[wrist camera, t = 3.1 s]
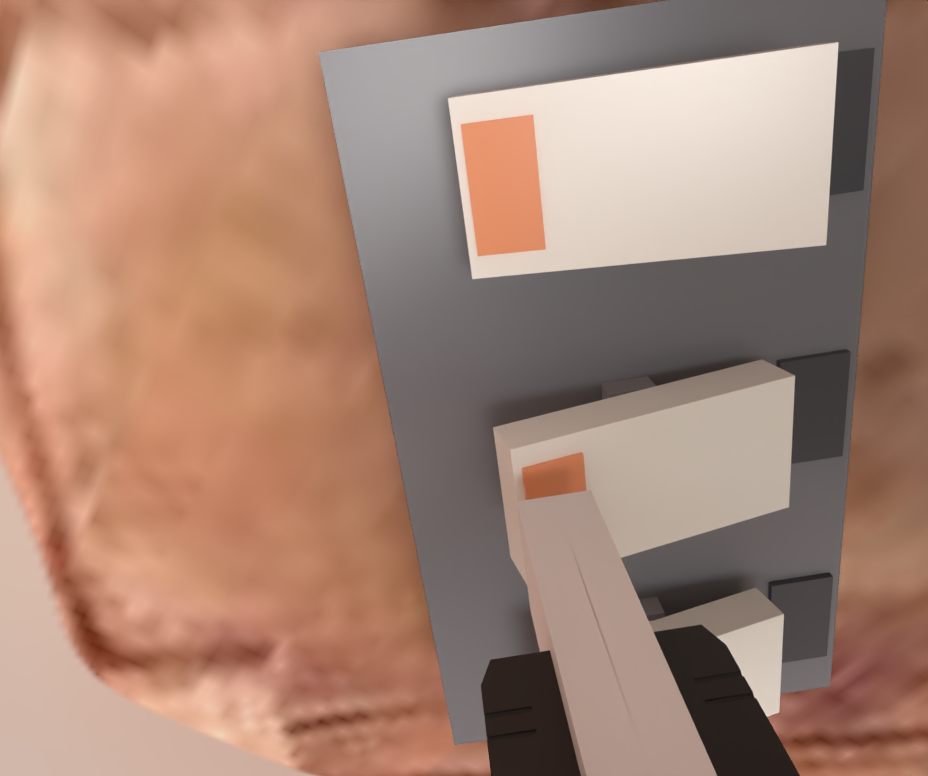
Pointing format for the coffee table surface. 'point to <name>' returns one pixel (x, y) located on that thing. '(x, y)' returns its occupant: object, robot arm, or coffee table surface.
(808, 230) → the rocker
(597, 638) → the robot arm
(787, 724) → the coffee table surface
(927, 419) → the coffee table surface
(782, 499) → the rocker
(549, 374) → the rocker switch panel
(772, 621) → the small box
